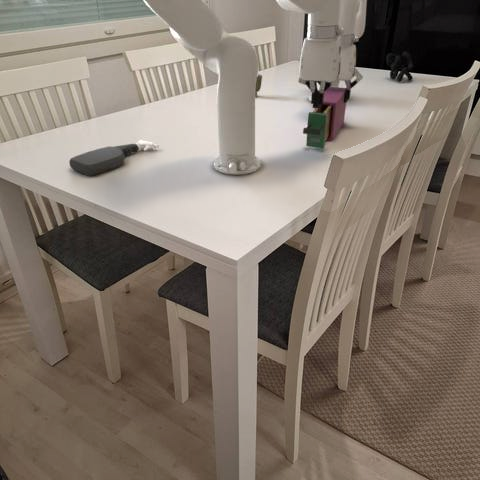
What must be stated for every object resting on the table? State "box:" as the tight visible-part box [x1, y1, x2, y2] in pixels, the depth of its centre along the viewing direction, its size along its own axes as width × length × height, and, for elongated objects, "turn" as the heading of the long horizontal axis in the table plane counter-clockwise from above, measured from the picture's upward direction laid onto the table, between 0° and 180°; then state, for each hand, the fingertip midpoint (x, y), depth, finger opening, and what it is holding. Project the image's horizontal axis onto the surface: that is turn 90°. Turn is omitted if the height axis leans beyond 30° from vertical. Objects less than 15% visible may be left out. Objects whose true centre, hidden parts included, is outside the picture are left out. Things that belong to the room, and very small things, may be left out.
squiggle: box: [385, 51, 414, 83], centre depth 198 cm, size 11×10×15 cm
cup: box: [255, 73, 263, 97], centre depth 179 cm, size 8×7×8 cm
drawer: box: [302, 104, 333, 149], centre depth 130 cm, size 22×5×10 cm, turn 158°
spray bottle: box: [68, 139, 160, 177], centre depth 124 cm, size 3×11×24 cm
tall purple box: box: [313, 86, 347, 141], centre depth 140 cm, size 18×6×11 cm, turn 158°
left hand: (316, 106), depth 121 cm, fingers closed
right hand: (334, 100), depth 143 cm, fingers closed on tall purple box, 6 cm apart
